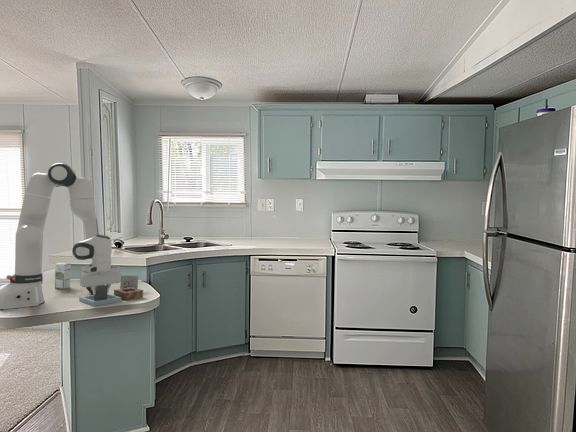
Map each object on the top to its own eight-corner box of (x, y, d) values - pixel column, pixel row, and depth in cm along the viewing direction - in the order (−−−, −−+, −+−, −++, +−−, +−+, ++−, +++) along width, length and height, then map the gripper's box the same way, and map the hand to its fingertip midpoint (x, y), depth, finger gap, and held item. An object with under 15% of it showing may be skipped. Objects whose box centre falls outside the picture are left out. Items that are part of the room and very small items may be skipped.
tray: (94, 306, 197) (94, 302, 197) (79, 300, 206) (79, 297, 206) (121, 301, 209) (121, 297, 209) (106, 296, 217) (106, 292, 217)
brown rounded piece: (95, 299, 217) (92, 297, 227) (109, 288, 222) (105, 287, 232) (85, 286, 215) (82, 285, 225) (99, 276, 220) (96, 276, 230)
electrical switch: (119, 292, 229) (120, 275, 229) (121, 291, 234) (122, 275, 234) (137, 292, 231) (138, 276, 231) (138, 291, 236) (139, 275, 236)
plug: (98, 302, 204) (99, 286, 204) (93, 301, 207) (94, 285, 207) (107, 301, 208) (107, 285, 208) (102, 299, 210) (102, 284, 210)
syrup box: (70, 287, 236) (71, 262, 236) (63, 289, 230) (64, 263, 230) (61, 286, 237) (61, 261, 236) (54, 288, 231) (55, 263, 230)
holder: (125, 300, 210) (125, 293, 210) (113, 297, 217) (114, 289, 216) (142, 297, 219) (143, 290, 219) (131, 294, 225) (131, 287, 225)
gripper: (117, 264, 217) (116, 289, 217) (78, 267, 201) (77, 295, 201) (123, 265, 213) (122, 291, 214) (85, 269, 197) (84, 297, 197)
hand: (100, 293), depth 207 cm, fingers closed on plug, 4 cm apart
